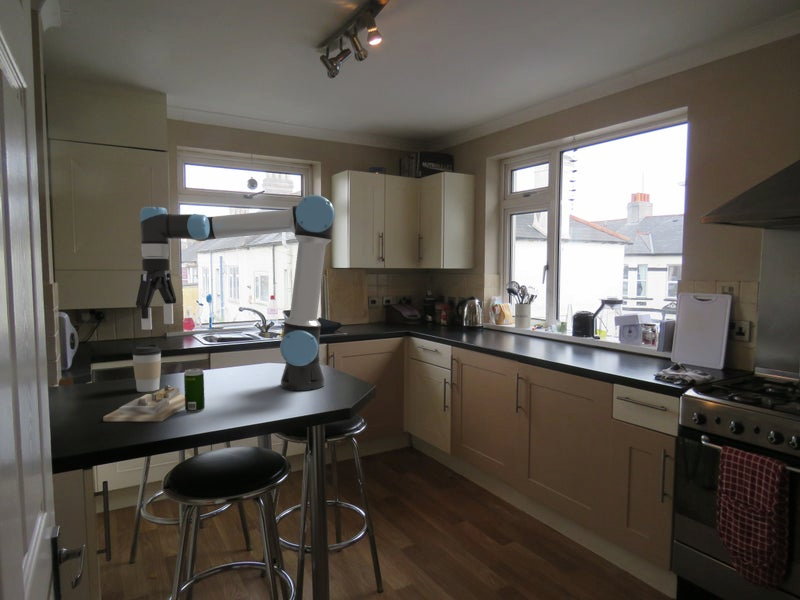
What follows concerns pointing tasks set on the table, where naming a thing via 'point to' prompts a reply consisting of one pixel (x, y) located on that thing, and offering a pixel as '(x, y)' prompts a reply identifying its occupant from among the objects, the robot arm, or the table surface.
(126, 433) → the table surface
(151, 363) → the coffee cup
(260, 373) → the table surface
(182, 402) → the dock
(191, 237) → the robot arm
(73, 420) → the table surface
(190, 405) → the beer can
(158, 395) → the bar
